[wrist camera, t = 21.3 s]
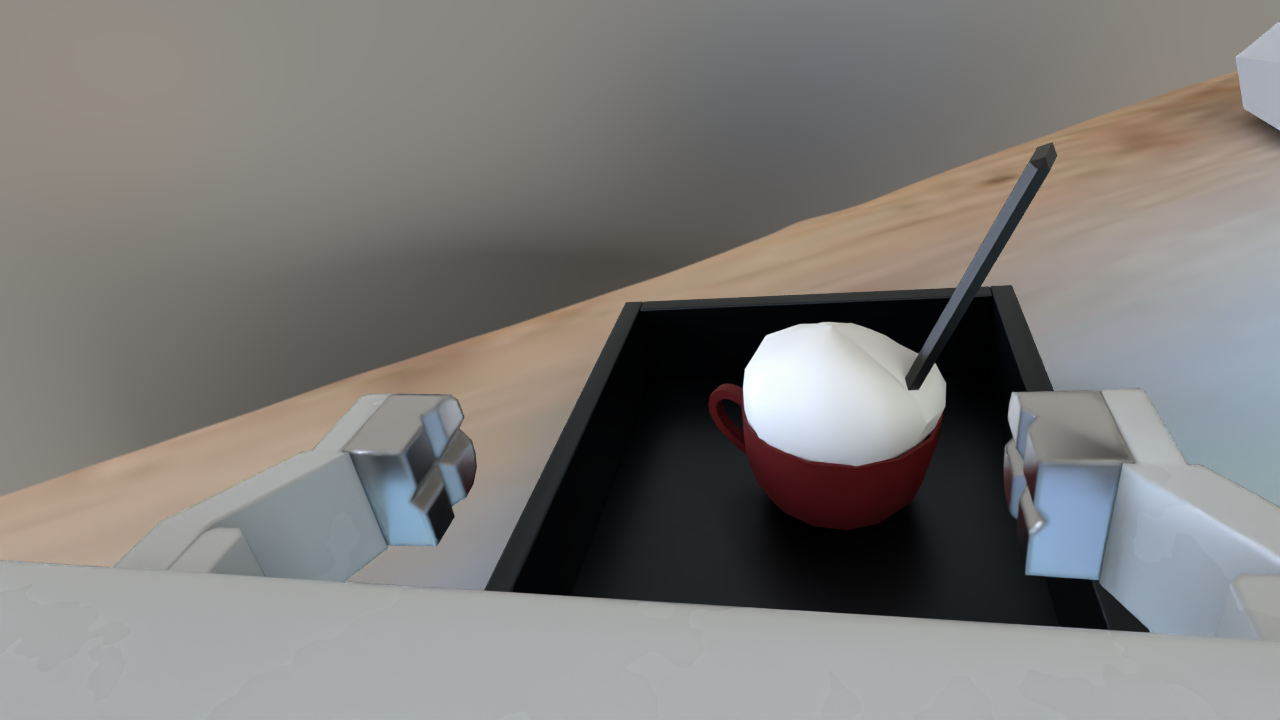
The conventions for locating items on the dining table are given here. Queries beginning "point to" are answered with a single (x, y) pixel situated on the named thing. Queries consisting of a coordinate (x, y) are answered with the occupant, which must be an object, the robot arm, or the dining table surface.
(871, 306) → the tray
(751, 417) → the cocoa
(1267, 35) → the rock
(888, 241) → the dining table surface
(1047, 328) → the dining table surface
